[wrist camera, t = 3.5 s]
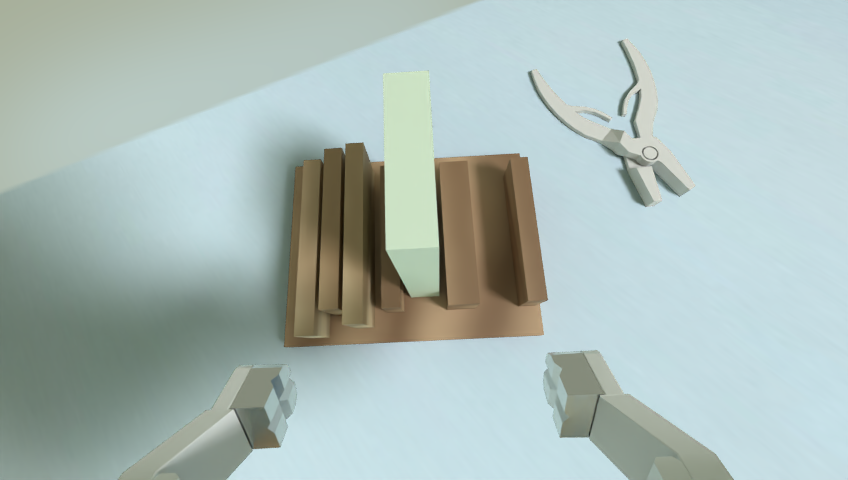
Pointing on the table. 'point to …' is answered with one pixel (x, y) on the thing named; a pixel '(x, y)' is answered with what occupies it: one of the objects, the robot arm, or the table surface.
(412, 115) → the pale green flat block
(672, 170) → the pliers
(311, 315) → the offcut rack
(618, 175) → the table surface
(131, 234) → the table surface
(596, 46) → the table surface
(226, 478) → the robot arm
